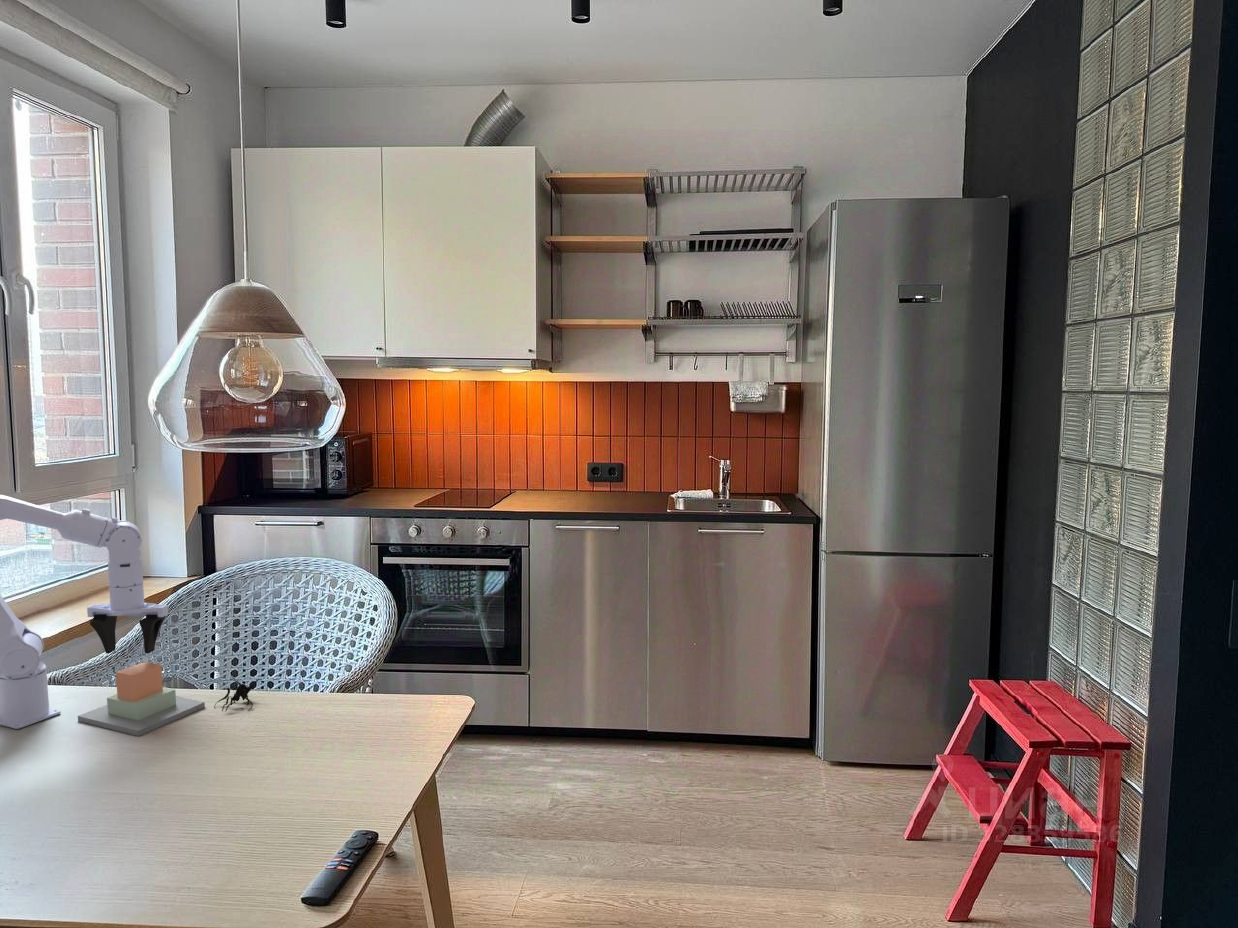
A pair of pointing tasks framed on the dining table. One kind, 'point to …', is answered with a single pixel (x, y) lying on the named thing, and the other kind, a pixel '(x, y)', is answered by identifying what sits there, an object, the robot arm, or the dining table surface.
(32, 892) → the dining table surface
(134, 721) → the tower base
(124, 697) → the top brick
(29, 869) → the dining table surface
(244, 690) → the creature
